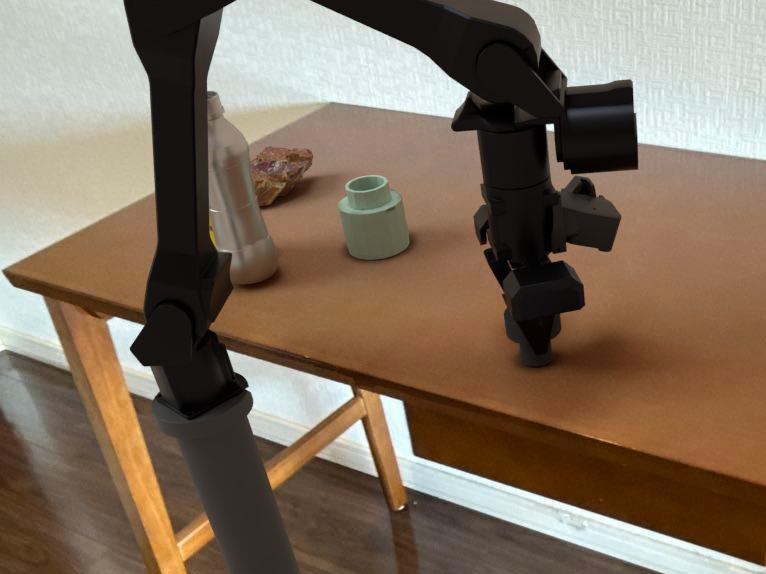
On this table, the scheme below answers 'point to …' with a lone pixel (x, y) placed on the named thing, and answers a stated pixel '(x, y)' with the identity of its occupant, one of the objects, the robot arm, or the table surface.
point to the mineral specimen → (278, 171)
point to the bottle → (373, 218)
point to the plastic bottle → (236, 201)
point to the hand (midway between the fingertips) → (534, 339)
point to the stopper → (525, 349)
